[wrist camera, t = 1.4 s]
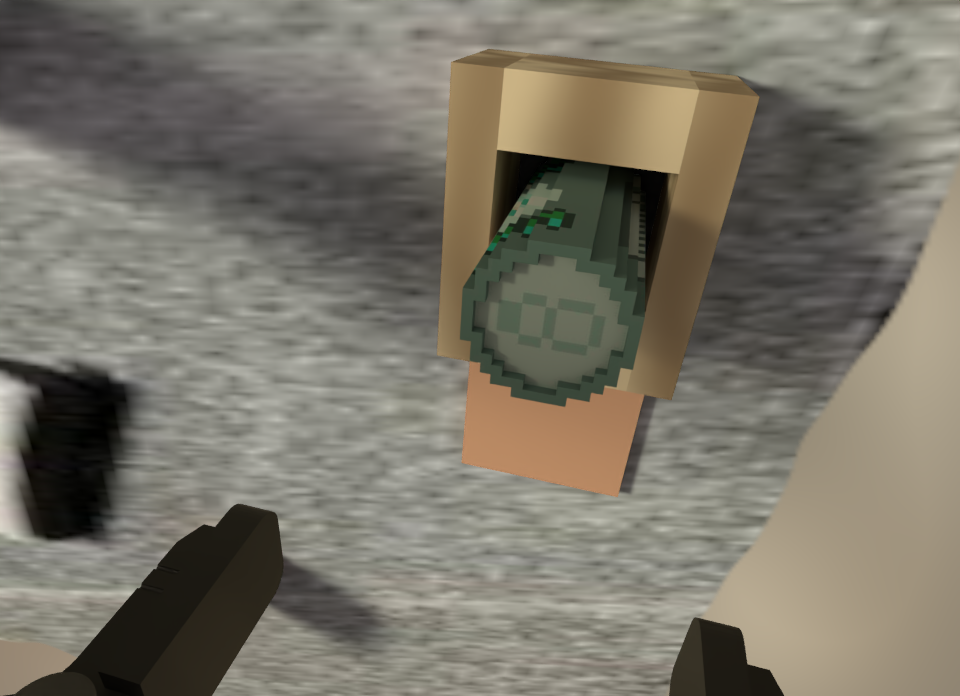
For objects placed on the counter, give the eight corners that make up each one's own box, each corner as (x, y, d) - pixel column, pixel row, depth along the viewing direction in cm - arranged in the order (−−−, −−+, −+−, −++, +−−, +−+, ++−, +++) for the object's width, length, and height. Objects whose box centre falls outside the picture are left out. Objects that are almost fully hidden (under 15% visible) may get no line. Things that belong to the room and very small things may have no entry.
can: (536, 138, 32) (466, 230, 20) (653, 152, 31) (658, 258, 19) (524, 246, 36) (456, 386, 23) (630, 262, 35) (621, 417, 22)
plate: (464, 455, 44) (461, 462, 44) (475, 321, 39) (472, 327, 38) (618, 489, 43) (617, 497, 42) (653, 353, 37) (653, 360, 36)
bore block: (469, 299, 38) (437, 355, 32) (488, 49, 31) (451, 61, 25) (667, 333, 36) (671, 400, 30) (736, 75, 29) (759, 96, 23)
